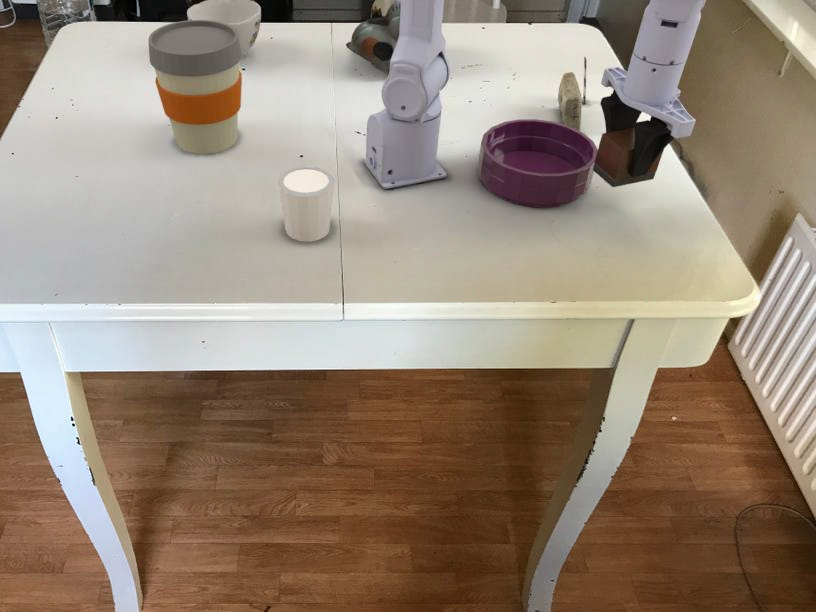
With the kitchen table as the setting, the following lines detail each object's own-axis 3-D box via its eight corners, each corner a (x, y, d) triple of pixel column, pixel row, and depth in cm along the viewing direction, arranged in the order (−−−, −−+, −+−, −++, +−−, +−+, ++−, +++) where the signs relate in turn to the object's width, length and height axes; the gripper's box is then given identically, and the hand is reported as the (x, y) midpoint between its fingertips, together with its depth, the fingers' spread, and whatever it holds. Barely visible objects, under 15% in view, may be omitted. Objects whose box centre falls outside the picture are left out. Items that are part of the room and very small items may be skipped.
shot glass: (304, 207, 99) (303, 159, 94) (345, 226, 96) (346, 178, 91) (269, 230, 95) (265, 182, 90) (310, 251, 92) (308, 202, 87)
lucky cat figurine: (360, 43, 137) (400, -32, 129) (414, 80, 137) (457, 7, 129) (333, 49, 124) (376, -33, 117) (393, 90, 124) (439, 10, 117)
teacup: (191, 44, 137) (185, -3, 131) (260, 39, 138) (257, -7, 133) (194, 79, 126) (188, 31, 121) (268, 74, 128) (265, 26, 122)
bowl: (510, 218, 97) (517, 184, 93) (458, 161, 107) (462, 129, 104) (611, 197, 101) (621, 163, 97) (551, 144, 111) (558, 112, 107)
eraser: (612, 187, 92) (623, 150, 88) (592, 170, 94) (602, 133, 91) (653, 179, 93) (666, 142, 89) (632, 161, 96) (644, 125, 92)
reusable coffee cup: (252, 119, 116) (244, 19, 106) (245, 160, 107) (235, 55, 97) (171, 119, 116) (154, 19, 106) (157, 160, 107) (138, 55, 97)
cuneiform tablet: (584, 100, 121) (594, 135, 112) (555, 104, 122) (563, 139, 113) (585, 56, 116) (596, 90, 107) (555, 61, 117) (563, 94, 108)
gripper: (734, 76, 79) (691, 188, 89) (650, 26, 89) (619, 132, 98) (678, 86, 78) (640, 199, 87) (599, 33, 87) (572, 140, 97)
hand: (625, 164), depth 93 cm, fingers closed on eraser, 4 cm apart
